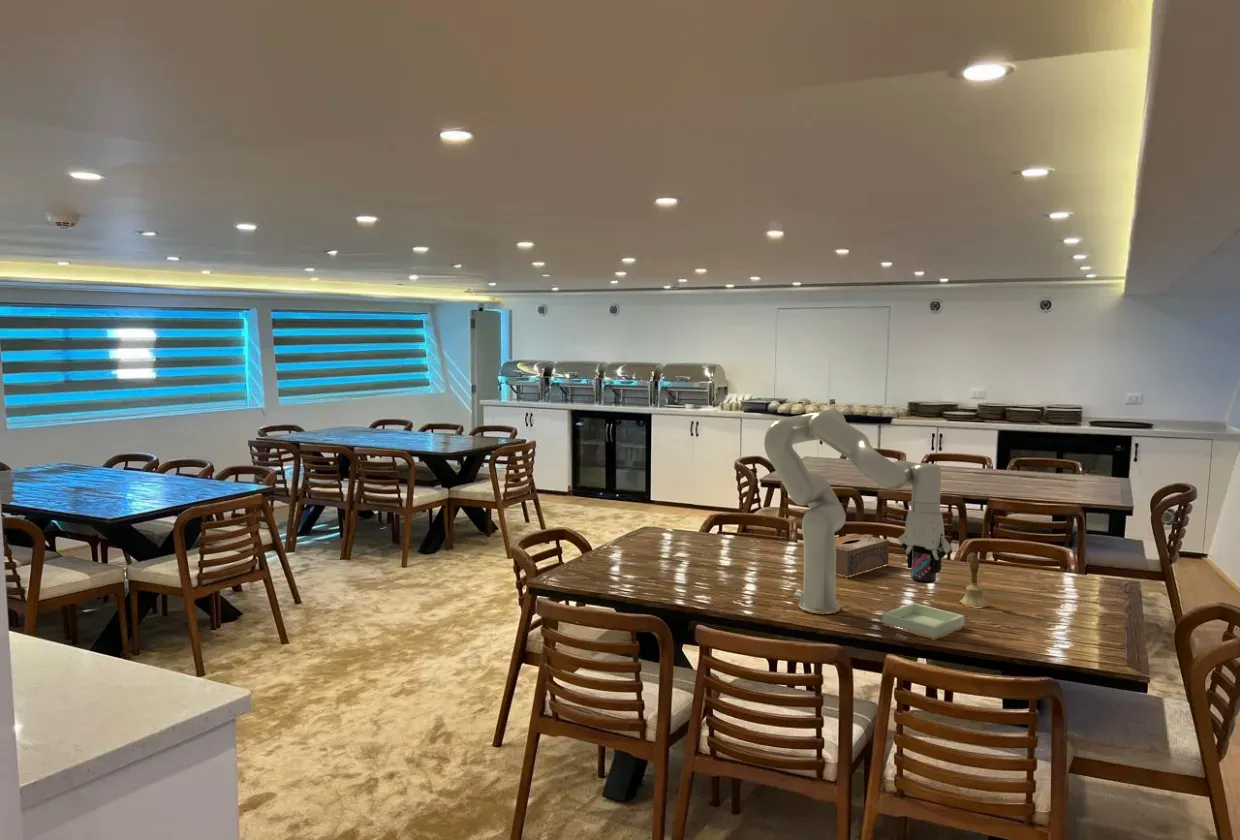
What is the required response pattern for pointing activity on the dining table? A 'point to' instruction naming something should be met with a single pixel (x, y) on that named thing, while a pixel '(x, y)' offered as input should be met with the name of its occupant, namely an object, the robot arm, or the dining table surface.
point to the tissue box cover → (860, 553)
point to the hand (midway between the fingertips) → (923, 569)
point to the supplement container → (922, 565)
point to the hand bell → (974, 587)
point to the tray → (924, 619)
